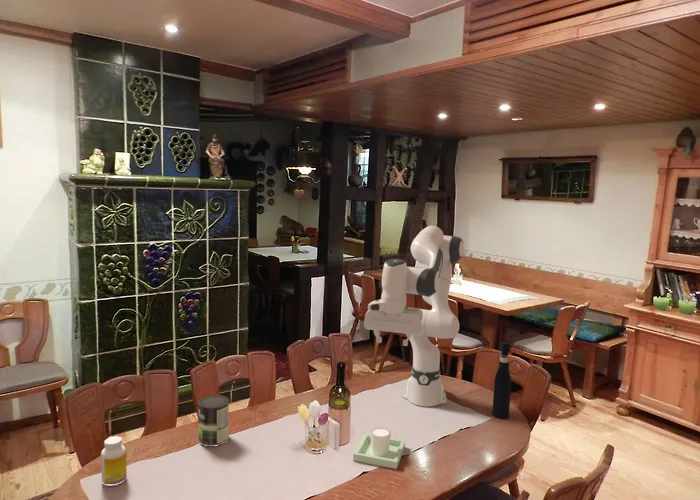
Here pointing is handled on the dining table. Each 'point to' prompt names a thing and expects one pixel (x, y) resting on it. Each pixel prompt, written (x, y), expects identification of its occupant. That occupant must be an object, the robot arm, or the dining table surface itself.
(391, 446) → the tray
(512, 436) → the dining table surface
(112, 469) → the supplement bottle
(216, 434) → the coffee can
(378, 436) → the shot glass
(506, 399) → the wine bottle
